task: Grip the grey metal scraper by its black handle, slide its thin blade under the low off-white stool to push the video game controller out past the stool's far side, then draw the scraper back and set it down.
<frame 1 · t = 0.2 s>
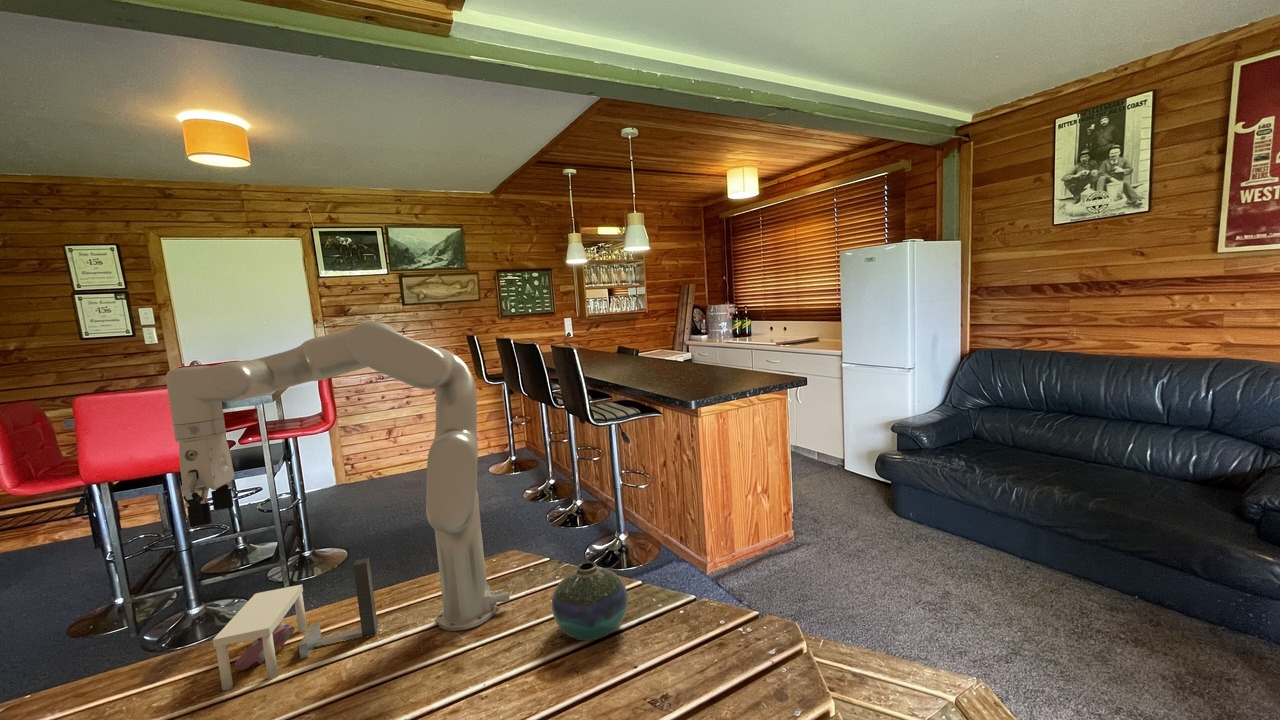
hand: (213, 516, 101), 31 cm above the table, tool pointing down, fingers open, 9 cm apart
low stool: (268, 656, 106), on the table
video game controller: (268, 658, 106), on the table
scraper: (370, 633, 111), on the table
vase: (592, 630, 105), on the table
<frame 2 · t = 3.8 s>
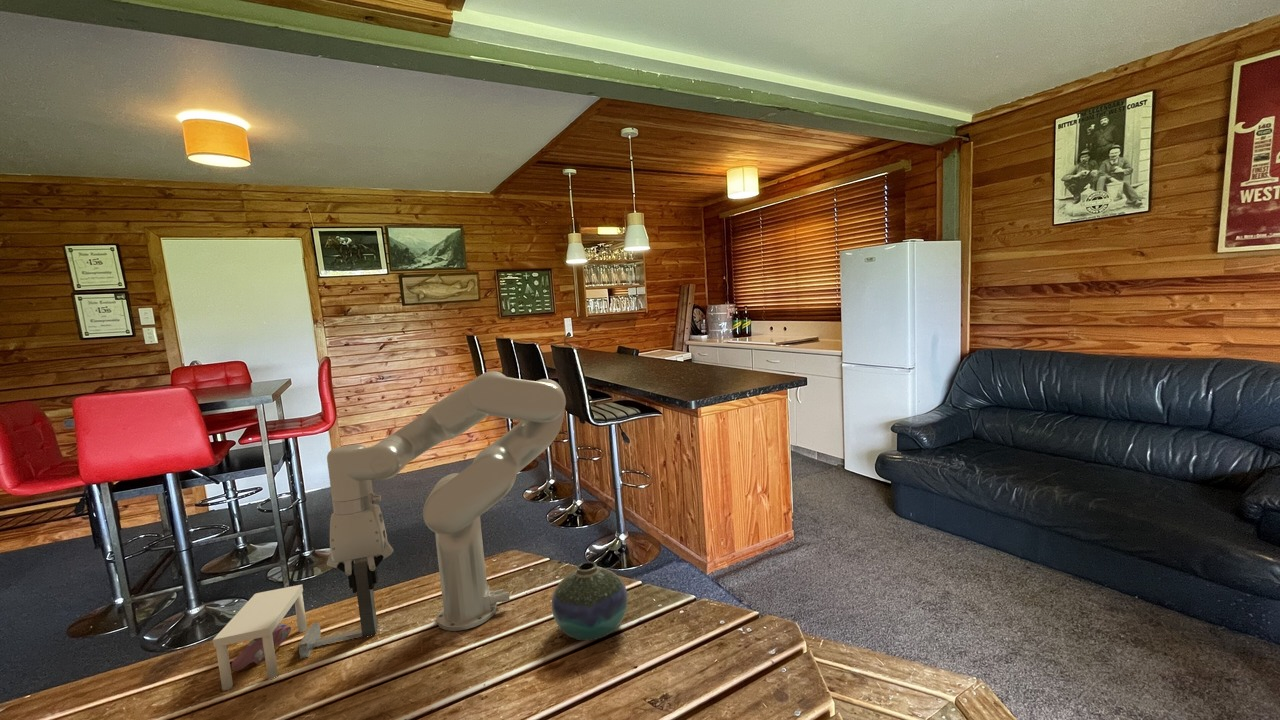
hand: (364, 587, 110), 10 cm above the table, tool pointing down, fingers closed on scraper, 2 cm apart
scraper: (370, 633, 111), on the table, touching gripper
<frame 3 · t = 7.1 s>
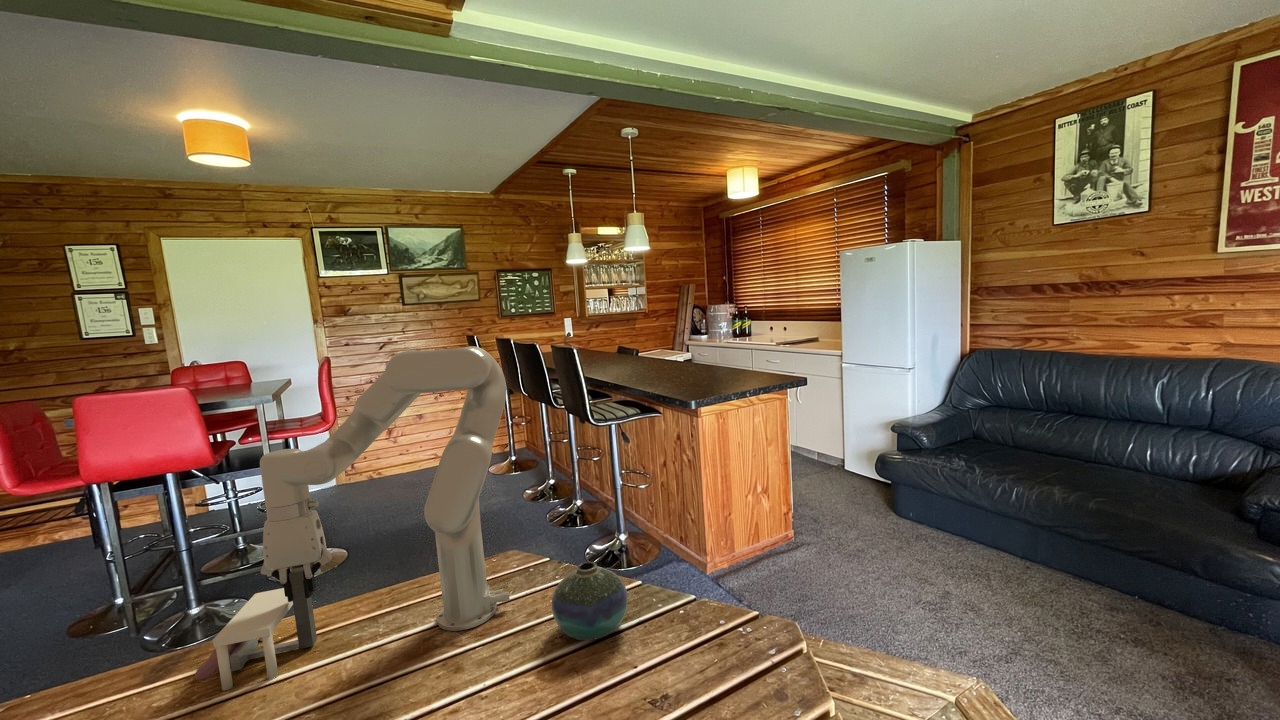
hand: (301, 596, 107), 11 cm above the table, tool pointing down, fingers closed on scraper, 2 cm apart
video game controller: (226, 665, 105), on the table
scraper: (308, 644, 108), point 1 cm above the table, touching gripper
everything else where it was.
when the fingers open (10 cm above the table, at t = 9.7 s): scraper stays where it is, on the table.
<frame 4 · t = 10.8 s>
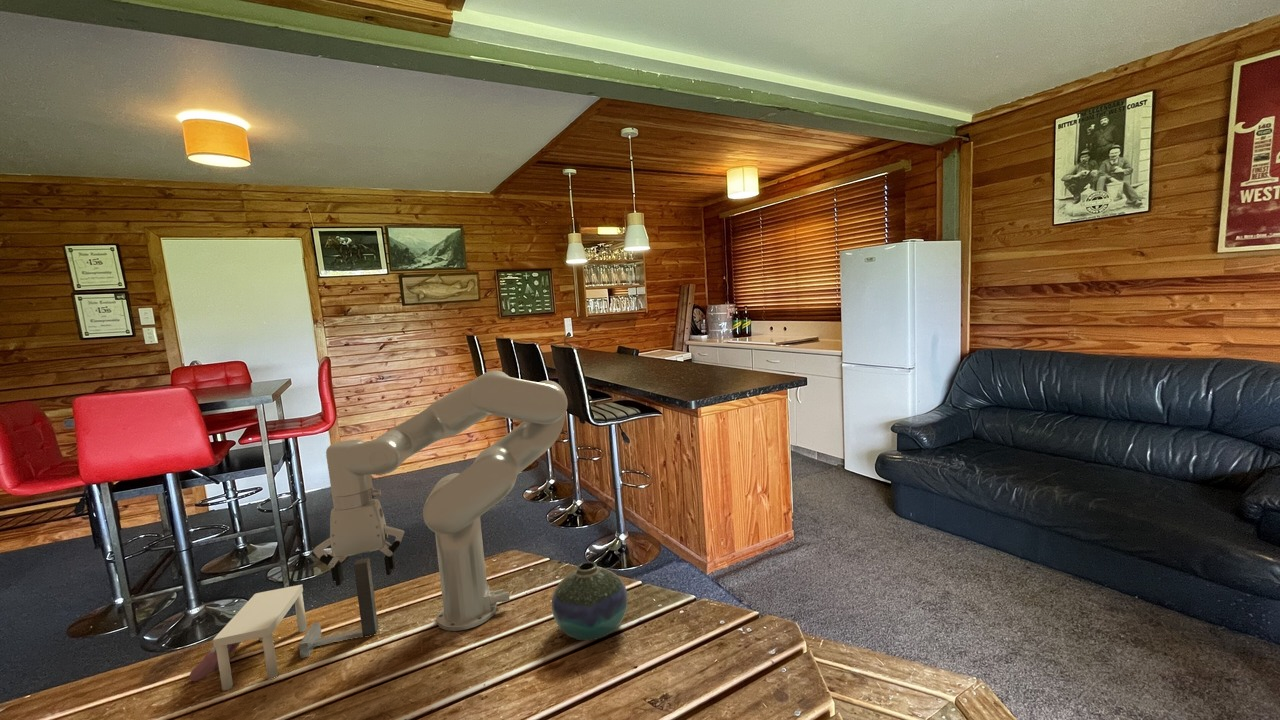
hand: (365, 577, 110), 12 cm above the table, tool pointing down, fingers open, 9 cm apart
scraper: (370, 633, 111), on the table
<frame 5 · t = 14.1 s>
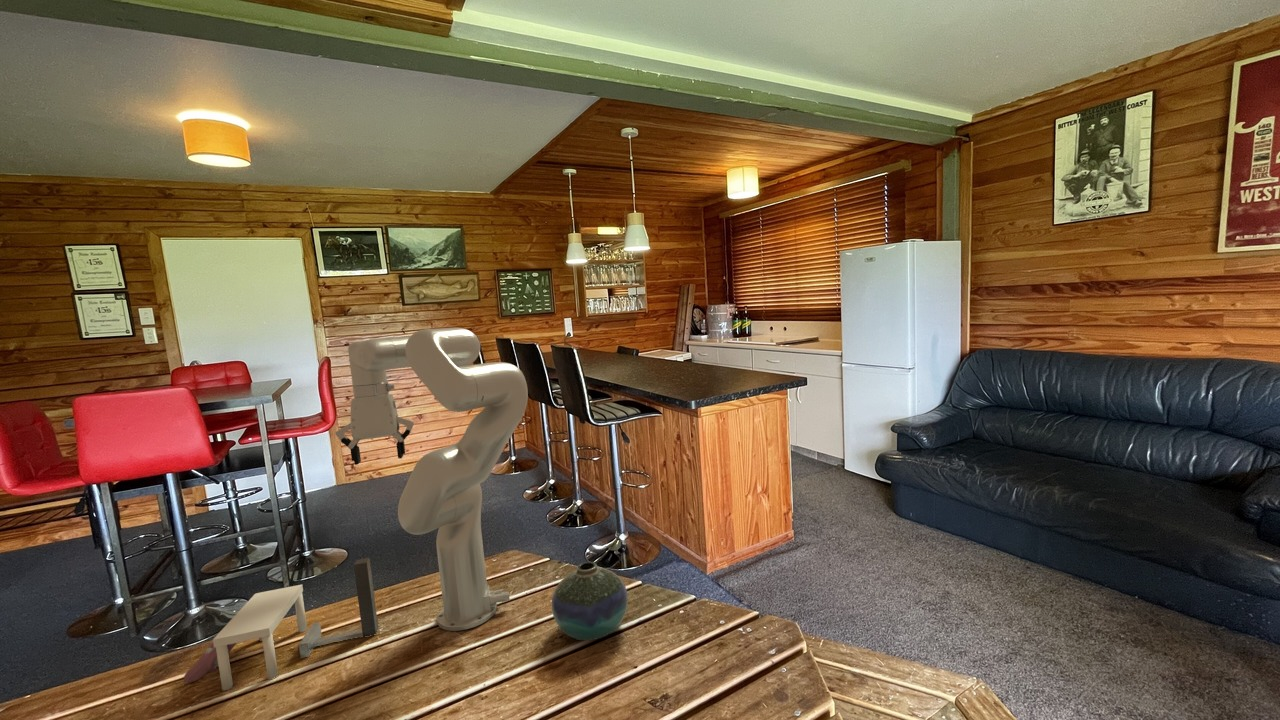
hand: (379, 460, 127), 33 cm above the table, tool pointing down, fingers open, 9 cm apart
at the end: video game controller inside the target area (4.3 cm from its centre), on the table; scraper inside the target area (0.6 cm from its centre), on the table; the gripper is holding nothing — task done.
